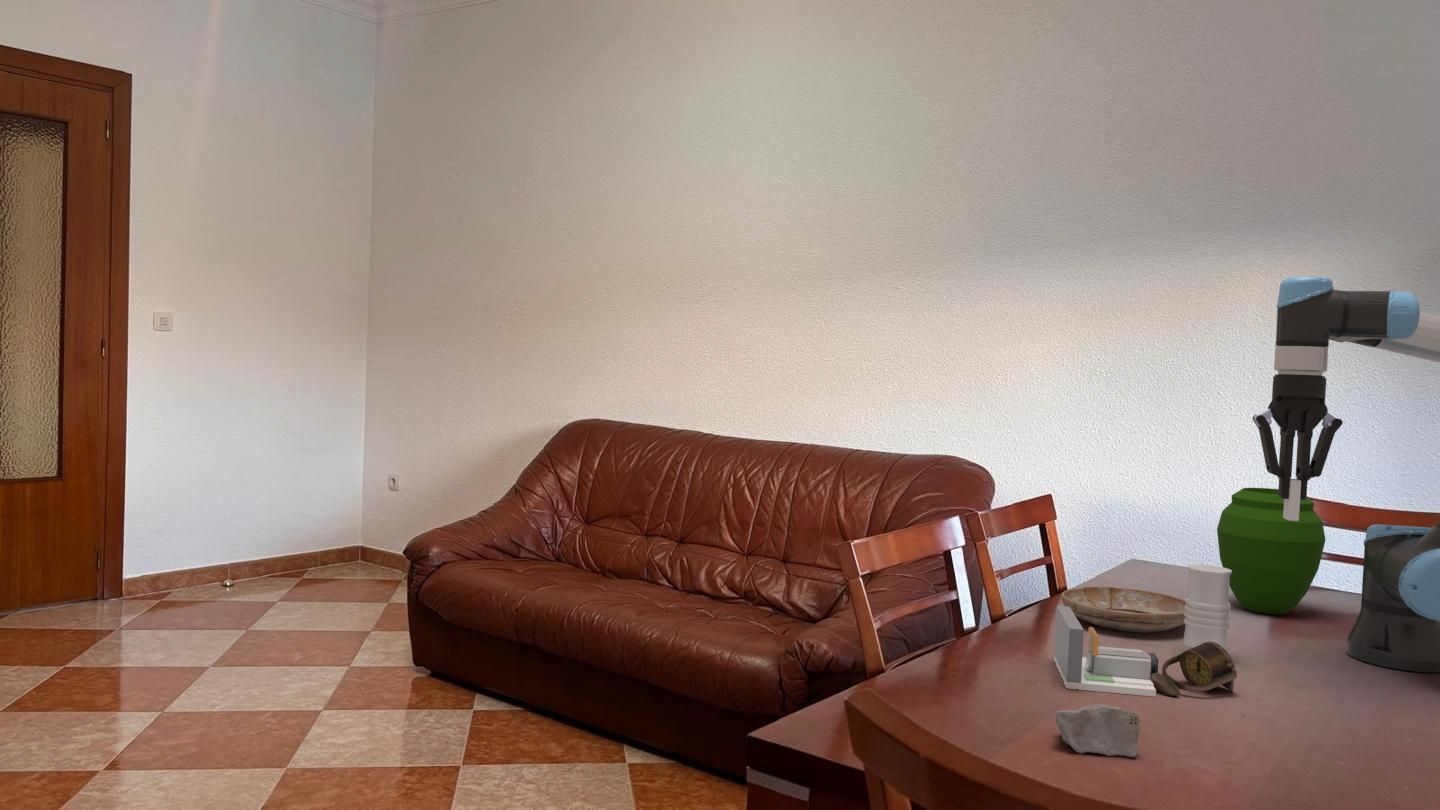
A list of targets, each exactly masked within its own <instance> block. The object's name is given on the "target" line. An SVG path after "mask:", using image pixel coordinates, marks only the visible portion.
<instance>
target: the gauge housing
mask: <svg viewBox="0 0 1440 810" xmlns="http://www.w3.org/2000/svg"><path fill="white" fill-rule="evenodd" d="M1055 613H1056V615H1055V629H1054V631H1055V634H1054V650H1053V652H1054V653H1053V662H1054V661H1055V662H1054V664H1055V663H1056V664H1055V666H1056V669H1057V668H1058V669H1057V671H1058V670H1059V671H1058V673H1059V672H1060V673H1059V675H1060V674H1061V675H1060V677H1062V678H1061V680H1062V679H1063V680H1062V682H1063V681H1064V682H1063V684H1064V687H1065V688H1068V690H1076V689H1078V690H1077V691H1088V692H1097V693H1098V692H1100V693H1110V694H1121V695H1130V696H1131V695H1132V696H1142V697H1153V698H1156V697H1157V690H1156V688H1155V687H1154V684H1153V683H1152V681H1151V680H1150V673H1151V661H1150V660H1149V659H1143V658H1131V657H1119V656H1108V655H1098V656H1093V671H1088V669H1087V668H1086V666H1085V661H1086V656H1083V652H1084V651H1083V650H1084V633H1085V632H1084V631H1085V630H1084V628H1083V626H1082V625H1081V623H1080V621H1079V620H1078V617H1077V616H1075V615H1074V613H1073V611H1072V610H1071V608H1070V607H1066V606H1064V605H1063V606H1062V605H1056V612H1055ZM1087 648H1089V647H1088V646H1087ZM1098 649H1109V650H1121V651H1132V652H1144V651H1143V650H1142V649H1135V648H1120V647H1110V646H1099V645H1098Z"/></svg>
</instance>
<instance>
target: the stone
mask: <svg viewBox="0 0 1440 810" xmlns="http://www.w3.org/2000/svg"><path fill="white" fill-rule="evenodd" d="M1055 724H1056V725H1057V727H1058V730H1059V732H1060V734H1061V739H1062V741H1063V742H1064V743H1065V744H1066V745H1068V746H1070V747H1071V748H1072V749H1073V750H1074V751H1075V752H1076V753H1078V754H1085V753H1095V754H1100V755H1105V756H1108V757H1113V756H1114V757H1115V756H1124V757H1126V758H1135V757H1137V755H1138V744H1139V735H1140V730H1141V726H1140V724H1141V721H1140V715H1139V713H1137V712H1136V711H1132V710H1131V711H1130V710H1128V711H1127V710H1124V709H1123V708H1120V707H1119V706H1111V705H1108V704H1106V703H1105V704H1104V703H1095V704H1089V705H1086V706H1085V705H1084V706H1082V707H1081V708H1077V709H1067V710H1057V711H1055Z"/></svg>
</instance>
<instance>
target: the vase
mask: <svg viewBox="0 0 1440 810" xmlns="http://www.w3.org/2000/svg"><path fill="white" fill-rule="evenodd" d="M1278 489H1279V488H1278ZM1278 489H1277V488H1270V487H1269V488H1268V487H1266V488H1265V487H1243V488H1241V489H1240V490H1238V491H1236V492H1235V493H1232V495H1231V502H1230V503H1229V504H1228V505H1227V506H1226V507H1225V508H1224V509H1223V510H1222V511H1221V514H1220V517H1219V521H1218V524H1217V527H1216V533H1217V534H1216V535H1217V541H1218V551H1219V552H1218V553H1219V560H1220V562H1221V565H1222V566H1221V567H1224V568H1228V569H1230V570H1232V574H1231V575H1230V580H1229V589H1230V590H1231V592H1232V593H1233V595H1234V597H1235V599H1236V600H1237V601H1238V602H1239V604H1240V605H1241V606H1242V607H1243V608H1244V609H1246V610H1247V611H1250V612H1253V613H1257V614H1262V615H1271V616H1272V615H1273V616H1277V615H1278V616H1281V615H1285V614H1288V613H1290V612H1291V611H1293V609H1295V607H1297V606H1298V605H1299V603H1300V602H1301V601H1302V599H1303V598H1304V597H1305V596H1306V595H1307V593H1308V591H1309V590H1310V587H1311V585H1312V584H1313V582H1314V579H1315V577H1316V575H1317V573H1318V570H1319V568H1320V565H1321V564H1320V563H1321V560H1322V556H1323V552H1324V548H1325V544H1326V535H1325V533H1326V532H1325V529H1324V522H1323V520H1322V518H1321V517H1320V516H1319V514H1318V513H1317V512H1316V511H1315V509H1314V507H1315V502H1314V501H1313V500H1312V499H1311V498H1309V497H1308V496H1307V497H1306V499H1305V500H1300V509H1299V521H1291V520H1287V519H1284V518H1283V510H1284V499H1282V498H1279V495H1278Z"/></svg>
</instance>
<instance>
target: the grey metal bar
mask: <svg viewBox="0 0 1440 810" xmlns="http://www.w3.org/2000/svg"><path fill="white" fill-rule="evenodd" d="M1087 635H1088V637H1087V647H1086V648H1085V657H1086V661H1085V666H1086V668H1087V669H1088V671H1093V656H1098V655H1108V656H1119V657H1131V658H1143V659H1149V660H1150V661H1151V673H1150V676H1151V675H1152V674H1153V673H1159V658H1158V656H1157V655H1156V654H1155V653H1154V652H1145V651H1143V652H1132V651H1121V650H1109V649H1098V646H1099V644H1100V643H1099V641H1100V636H1099V634H1098V633H1097V631H1096V630H1095V628H1094V627H1092V626H1088V634H1087ZM1088 647H1089V648H1088Z"/></svg>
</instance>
